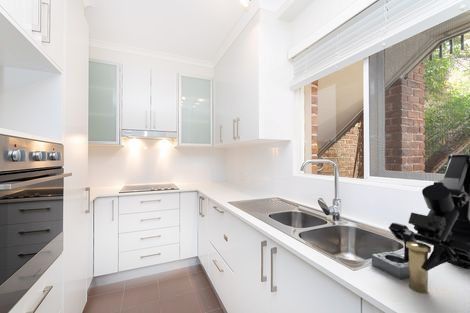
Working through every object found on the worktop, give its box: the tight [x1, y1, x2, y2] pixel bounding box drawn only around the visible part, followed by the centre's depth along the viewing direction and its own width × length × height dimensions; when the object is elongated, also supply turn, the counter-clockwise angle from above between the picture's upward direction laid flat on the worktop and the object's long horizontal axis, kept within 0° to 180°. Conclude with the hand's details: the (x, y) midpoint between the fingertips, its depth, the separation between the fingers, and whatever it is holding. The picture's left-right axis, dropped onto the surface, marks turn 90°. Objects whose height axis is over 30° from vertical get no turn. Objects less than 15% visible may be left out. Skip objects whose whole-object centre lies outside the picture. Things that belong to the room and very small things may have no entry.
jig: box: [371, 250, 409, 281], centre depth 68 cm, size 9×9×4 cm
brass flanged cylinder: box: [406, 241, 432, 294], centre depth 58 cm, size 5×5×12 cm
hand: (414, 265), depth 58 cm, fingers closed on brass flanged cylinder, 4 cm apart
